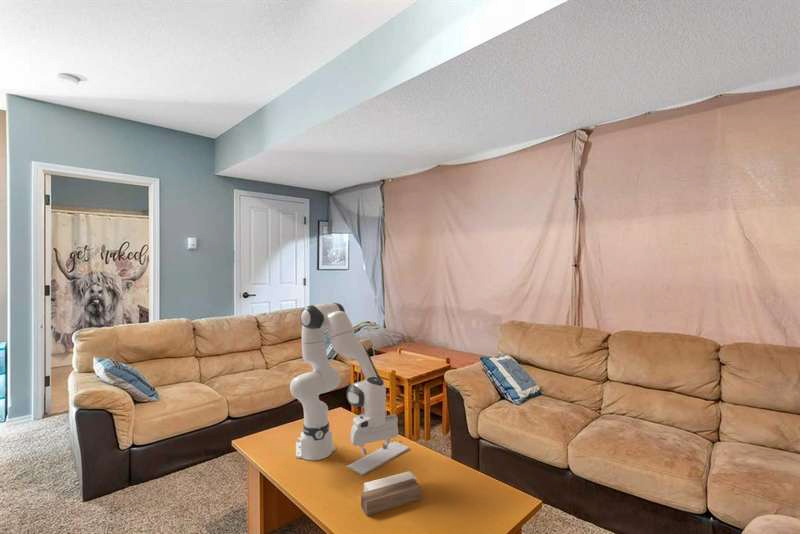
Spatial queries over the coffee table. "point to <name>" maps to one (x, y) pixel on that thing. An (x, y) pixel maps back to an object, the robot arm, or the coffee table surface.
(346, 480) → the coffee table surface
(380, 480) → the cream floor plank
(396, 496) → the brown wooden block
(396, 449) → the baseboard molding
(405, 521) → the coffee table surface
